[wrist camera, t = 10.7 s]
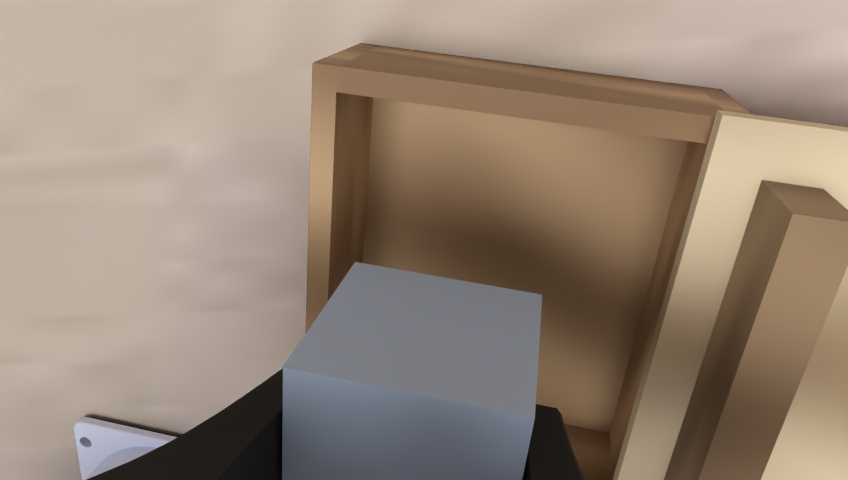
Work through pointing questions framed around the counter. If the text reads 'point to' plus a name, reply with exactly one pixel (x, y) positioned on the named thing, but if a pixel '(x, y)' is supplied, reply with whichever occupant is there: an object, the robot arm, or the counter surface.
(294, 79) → the counter surface
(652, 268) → the wooden box
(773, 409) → the lid
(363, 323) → the block
